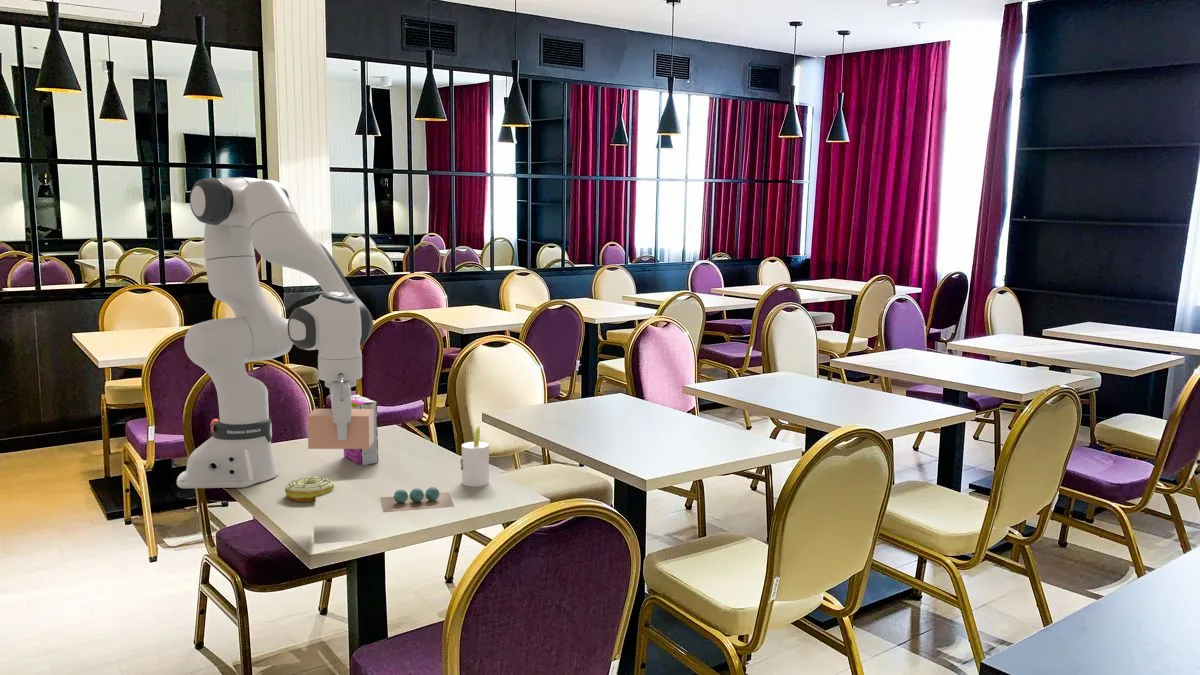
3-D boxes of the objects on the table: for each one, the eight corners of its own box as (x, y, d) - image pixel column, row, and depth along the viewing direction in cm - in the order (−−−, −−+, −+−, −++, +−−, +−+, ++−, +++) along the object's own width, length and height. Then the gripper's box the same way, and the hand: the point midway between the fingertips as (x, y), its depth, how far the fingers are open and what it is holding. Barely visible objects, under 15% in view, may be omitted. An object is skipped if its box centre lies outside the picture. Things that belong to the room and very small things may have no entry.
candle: (458, 485, 211) (458, 424, 209) (485, 483, 213) (485, 422, 211) (464, 493, 205) (463, 430, 203) (491, 491, 208) (491, 428, 206)
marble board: (383, 518, 188) (382, 498, 187) (380, 504, 197) (380, 484, 197) (454, 512, 192) (454, 492, 192) (448, 498, 202) (448, 479, 201)
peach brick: (308, 448, 185) (307, 416, 184) (315, 440, 191) (314, 408, 190) (369, 448, 186) (368, 416, 185) (374, 440, 192) (373, 408, 191)
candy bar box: (342, 457, 234) (340, 396, 232) (360, 454, 237) (358, 394, 235) (361, 466, 226) (359, 403, 223) (379, 463, 229) (378, 401, 227)
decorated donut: (339, 489, 208) (339, 473, 208) (327, 504, 197) (326, 487, 197) (294, 489, 208) (293, 473, 207) (279, 504, 197) (279, 487, 197)
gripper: (357, 378, 177) (359, 446, 179) (354, 361, 197) (355, 421, 199) (324, 380, 175) (326, 447, 178) (324, 361, 195) (325, 423, 197)
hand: (341, 434), depth 188 cm, fingers closed on peach brick, 7 cm apart
